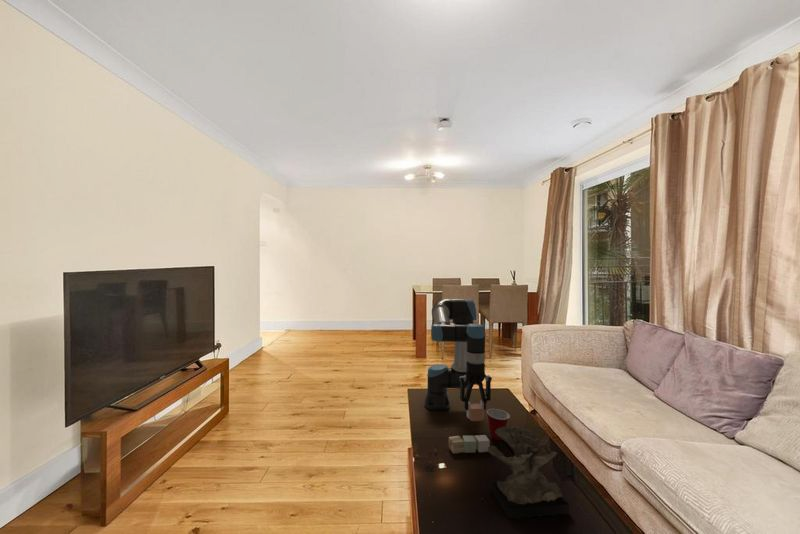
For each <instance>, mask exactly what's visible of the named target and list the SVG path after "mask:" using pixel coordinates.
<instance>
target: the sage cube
mask: <svg viewBox="0 0 800 534" xmlns="http://www.w3.org/2000/svg"><path fill="white" fill-rule="evenodd" d="M462 440H463V441H464V452H463V453H465V454H466V453H471V454H472V453H474V454H475V453H476V452H477V449H476V441H475V435H462Z"/></svg>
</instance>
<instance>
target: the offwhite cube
mask: <svg viewBox="0 0 800 534" xmlns="http://www.w3.org/2000/svg"><path fill="white" fill-rule="evenodd" d="M474 438H475V441H476V451H478V453H487V452H488V453H489V451H488V447H490V446H491V445H490V443H491V441H490V439H489V438H488V436H487V435H486V434H480V435H474Z"/></svg>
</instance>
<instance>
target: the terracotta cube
mask: <svg viewBox="0 0 800 534" xmlns="http://www.w3.org/2000/svg"><path fill="white" fill-rule="evenodd" d="M469 420H470V422H483V421H484V418H483V408H482V407H481V406H480V403H470V419H469Z"/></svg>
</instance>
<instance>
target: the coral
mask: <svg viewBox="0 0 800 534" xmlns="http://www.w3.org/2000/svg"><path fill="white" fill-rule="evenodd" d="M495 434H496V435H497V436H499V437H500V438H501V439H503V441H504V442H505V443H506V444H507V445H508V447H509V448H510V449H511V450H512V451H513V454H514V455H513V456H508V457H507V456H506V455H505V454H504V453H503V452H502V451H500V450H499V449H498V447H497V446H495V445H490V447H488V451H489V452H488V453H489V454H490V455H492V456H493V457H495V458H497V459H498V460H499V461H501V462H502V463H504V464H506V465H508V466H509V467H510V470H511V471H512V474H510V475H507V478H506V480H498V481H492V483H491V485H492V486H491V489H492V490H491V491H492V493H493V495H494V496H495V498H496V500H497V502H498V504H499V505H500V507H501V508H502V510H503V512H504V513H505V515H506V517H507V518H515V519H518V518H517V517H527V518H530V517H529V516H539V515H540V516H539V517H542V516H541V515H551V516H558V515H557V514H563V515H569V514H570V503H569V502H568V501H567V500H566V499H565V497H564V496H563V493H562V491H561V489H560V487H559V486H558V483H556V482H551V481H550V480H549V479H548V478H547V477H546V476H545V475H544V474H543V473H542V472H541V471H539V469H540V468H541V467H542V466H544V465H546V464H547V463H549V462H550V461H551V460H552V459H554V457H556V455H558V453H557V452H556V451H552V452H550V453H549V454H546V455H541V454H540V455H537V454H538V453H540V452H541V450H542V449H543V448H544V447H545V446H546V445H547V444H548V441H549V440H548V439H547V438H543V439H541V441H540V443H539V444H538V442H539V440H540V437H541V436H540V434H539V433H537V432H535V431H534V430H533V431H532V430H530V429H521V428H519V427H517V426H513V427H510V426H506V427H501V428H498V429H496V430H495ZM537 445H538V446H537ZM532 461H533V462H532ZM532 463H533V464H532ZM554 514H555V515H554Z"/></svg>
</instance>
